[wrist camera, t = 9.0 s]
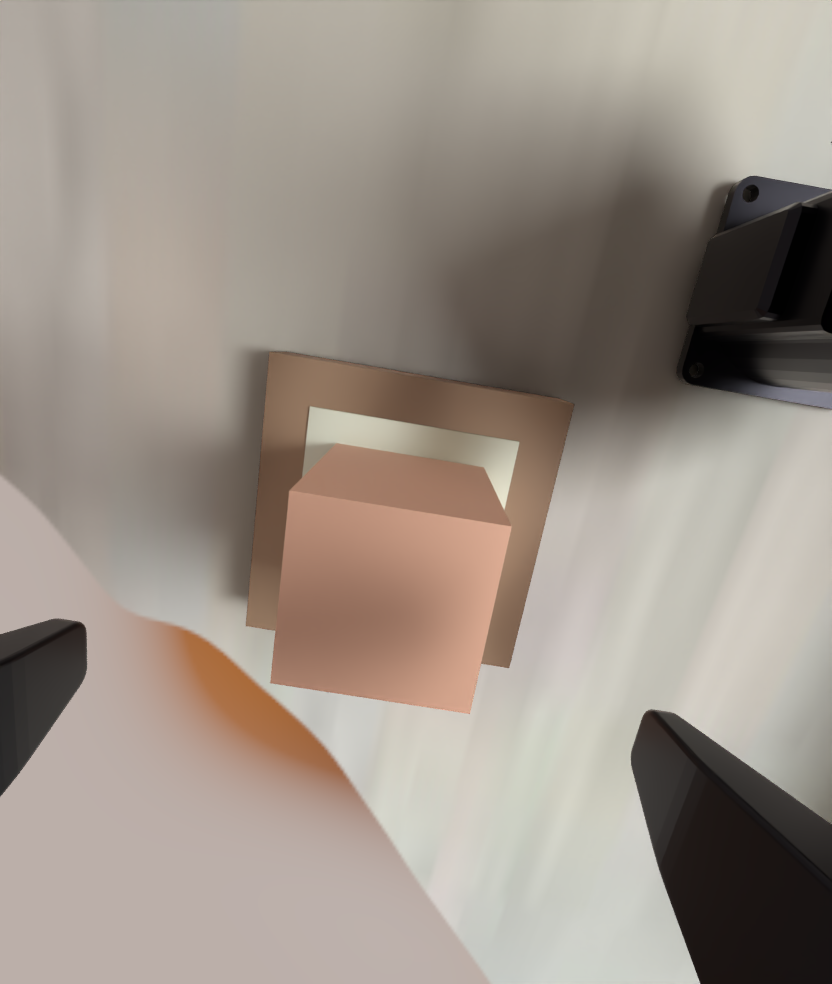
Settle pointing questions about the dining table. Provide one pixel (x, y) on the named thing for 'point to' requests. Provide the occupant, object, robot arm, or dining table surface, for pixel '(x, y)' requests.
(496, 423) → the walnut plinth
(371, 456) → the terracotta block
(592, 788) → the dining table surface
